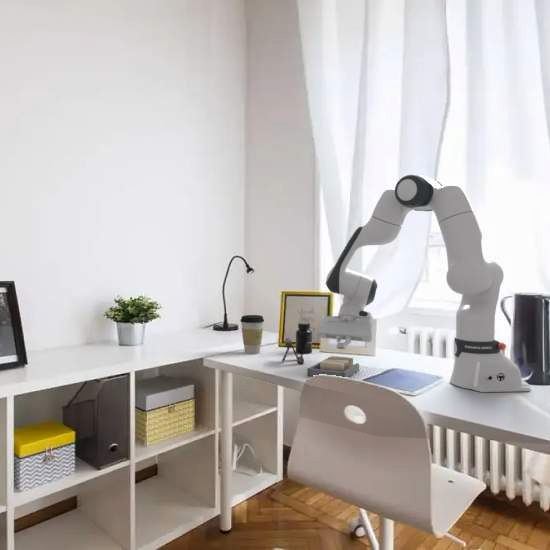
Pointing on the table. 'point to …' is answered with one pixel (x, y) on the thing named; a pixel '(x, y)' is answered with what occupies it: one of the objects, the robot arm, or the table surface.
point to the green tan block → (336, 363)
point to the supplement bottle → (304, 339)
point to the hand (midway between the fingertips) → (340, 348)
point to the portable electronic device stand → (288, 345)
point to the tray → (347, 373)
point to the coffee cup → (252, 333)
